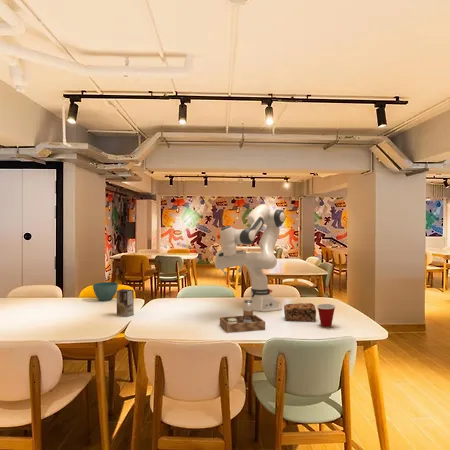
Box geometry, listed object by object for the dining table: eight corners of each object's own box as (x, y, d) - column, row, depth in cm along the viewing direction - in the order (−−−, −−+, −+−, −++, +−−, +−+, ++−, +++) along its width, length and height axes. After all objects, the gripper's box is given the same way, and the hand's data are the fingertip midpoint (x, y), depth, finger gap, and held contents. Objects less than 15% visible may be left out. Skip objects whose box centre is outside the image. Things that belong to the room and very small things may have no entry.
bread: (313, 317, 239) (313, 302, 239) (316, 322, 228) (316, 305, 228) (284, 317, 240) (284, 301, 240) (285, 321, 230) (285, 305, 230)
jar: (235, 327, 216) (235, 317, 216) (237, 330, 211) (238, 320, 211) (226, 328, 215) (226, 318, 215) (229, 330, 210) (229, 320, 210)
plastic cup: (312, 324, 223) (312, 304, 223) (327, 322, 227) (327, 302, 227) (324, 329, 213) (324, 308, 213) (339, 327, 217) (339, 306, 217)
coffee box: (134, 314, 244) (134, 289, 244) (127, 317, 239) (127, 291, 238) (122, 313, 248) (122, 288, 248) (116, 315, 242) (116, 290, 242)
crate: (255, 322, 227) (255, 314, 227) (265, 329, 212) (265, 321, 212) (219, 324, 221) (219, 317, 221) (227, 332, 206) (227, 324, 206)
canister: (251, 324, 222) (251, 299, 222) (254, 327, 217) (254, 301, 217) (241, 325, 221) (242, 300, 220) (245, 327, 215) (245, 301, 215)
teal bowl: (113, 302, 280) (113, 286, 280) (89, 302, 280) (89, 286, 280) (120, 297, 298) (120, 282, 298) (97, 297, 299) (97, 282, 298)
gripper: (244, 248, 242) (247, 270, 243) (213, 254, 239) (216, 275, 240) (246, 249, 236) (249, 271, 236) (214, 255, 233) (217, 277, 233)
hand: (232, 273), depth 238 cm, fingers open, 8 cm apart
